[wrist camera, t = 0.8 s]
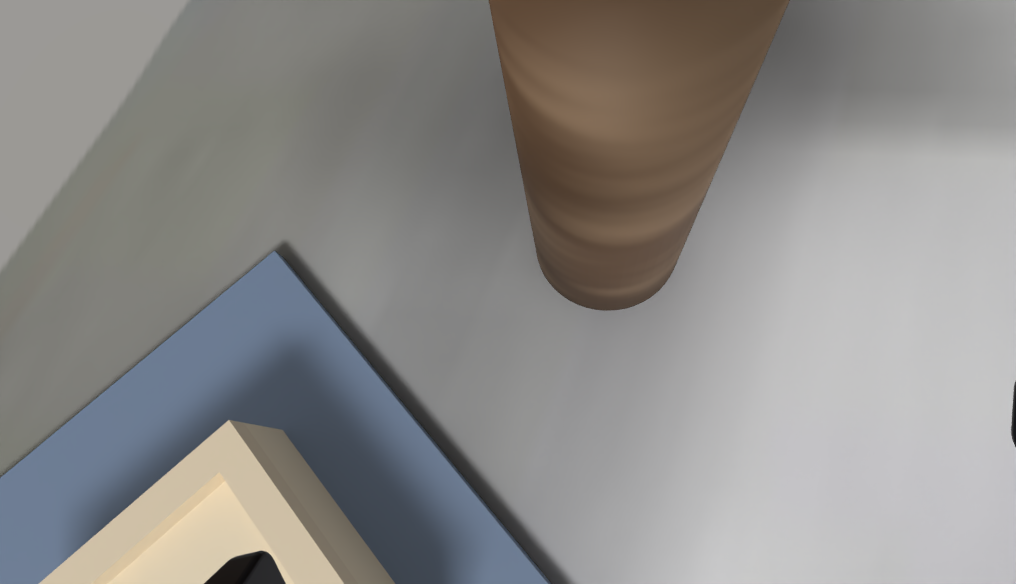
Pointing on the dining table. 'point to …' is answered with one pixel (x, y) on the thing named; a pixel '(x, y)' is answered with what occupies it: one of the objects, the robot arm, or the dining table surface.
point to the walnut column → (623, 127)
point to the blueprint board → (250, 465)
